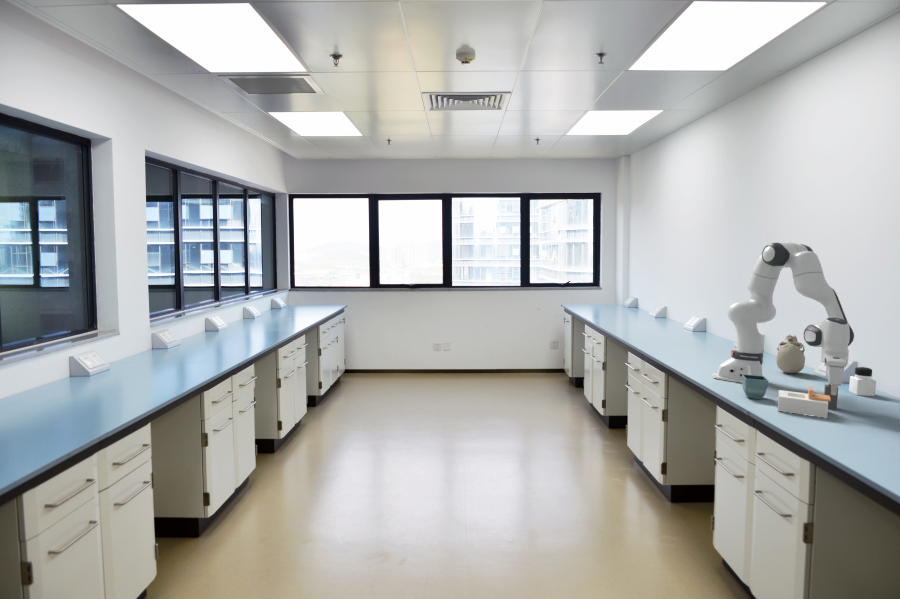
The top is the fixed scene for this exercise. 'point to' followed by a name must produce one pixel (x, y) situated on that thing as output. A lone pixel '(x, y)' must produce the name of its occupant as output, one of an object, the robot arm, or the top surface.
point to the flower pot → (754, 386)
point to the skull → (790, 355)
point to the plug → (831, 397)
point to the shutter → (817, 396)
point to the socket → (801, 404)
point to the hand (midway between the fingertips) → (832, 392)
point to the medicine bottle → (862, 382)
